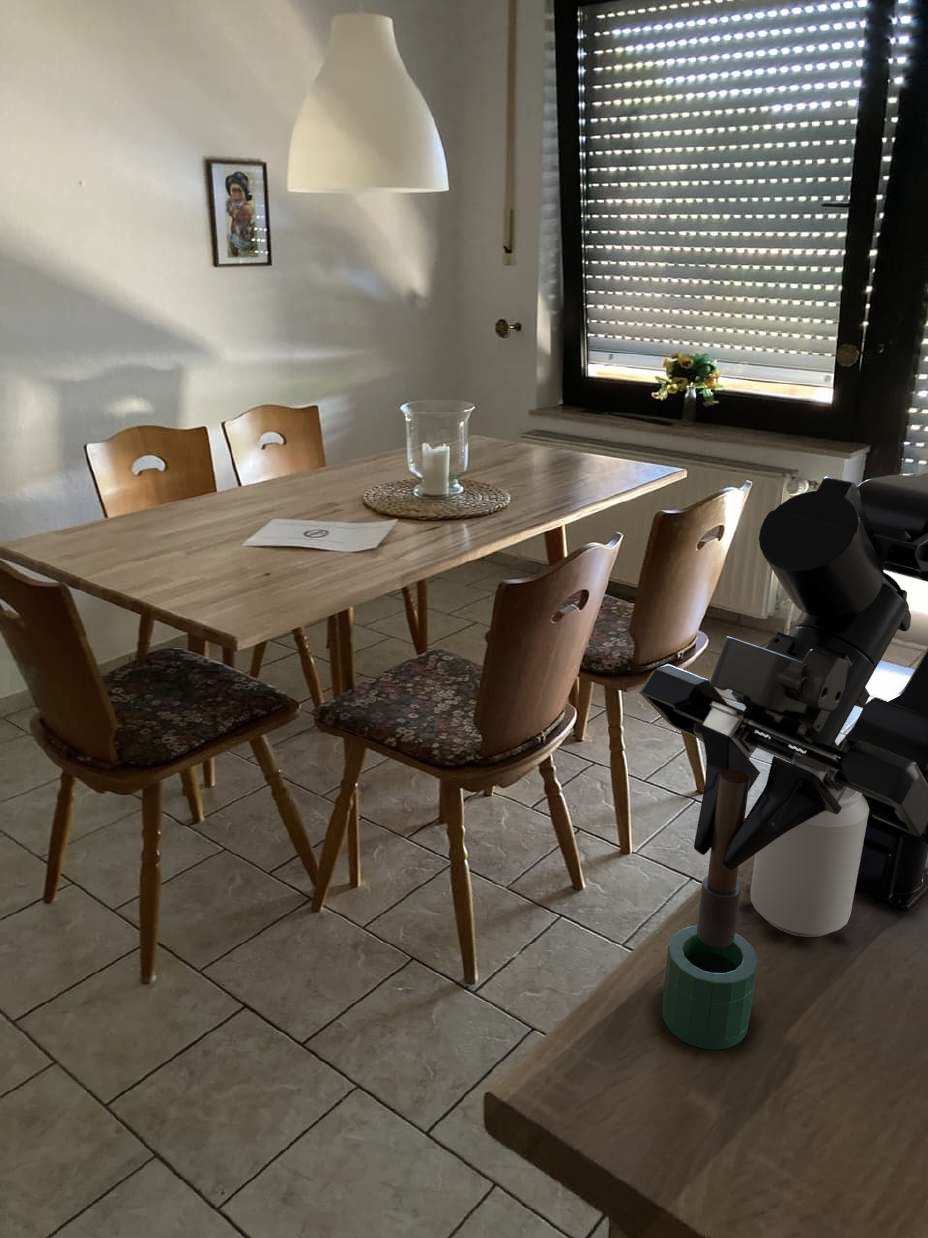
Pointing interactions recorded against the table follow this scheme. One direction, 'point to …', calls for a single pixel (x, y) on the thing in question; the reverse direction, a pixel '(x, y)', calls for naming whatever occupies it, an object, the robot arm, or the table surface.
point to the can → (812, 871)
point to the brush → (722, 882)
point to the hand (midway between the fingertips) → (712, 859)
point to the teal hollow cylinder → (708, 990)
